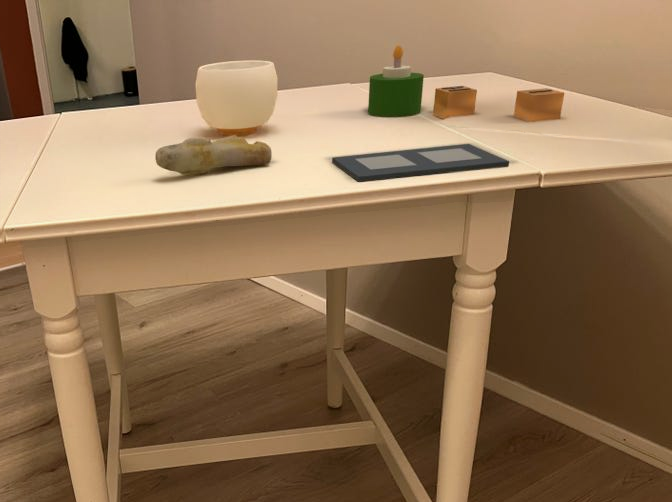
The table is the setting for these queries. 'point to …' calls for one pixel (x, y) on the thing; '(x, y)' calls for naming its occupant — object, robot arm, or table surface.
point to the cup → (236, 95)
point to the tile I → (538, 104)
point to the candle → (395, 90)
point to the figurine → (211, 154)
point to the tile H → (454, 101)
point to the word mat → (418, 162)
